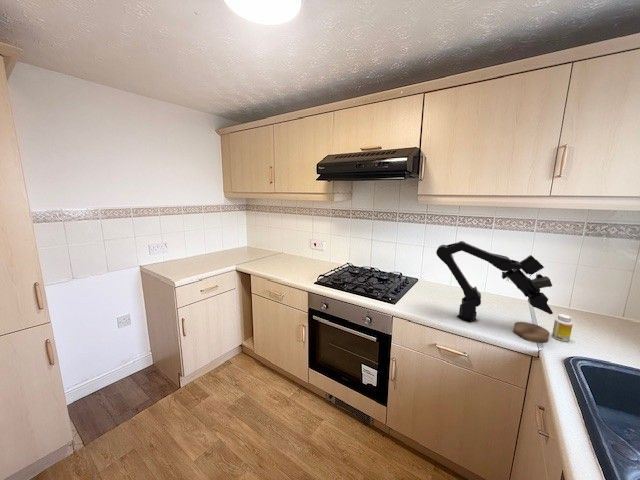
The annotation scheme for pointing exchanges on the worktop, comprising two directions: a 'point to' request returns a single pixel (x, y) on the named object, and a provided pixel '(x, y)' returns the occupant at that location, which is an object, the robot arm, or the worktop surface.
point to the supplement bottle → (562, 327)
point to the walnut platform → (531, 332)
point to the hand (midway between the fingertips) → (548, 309)
